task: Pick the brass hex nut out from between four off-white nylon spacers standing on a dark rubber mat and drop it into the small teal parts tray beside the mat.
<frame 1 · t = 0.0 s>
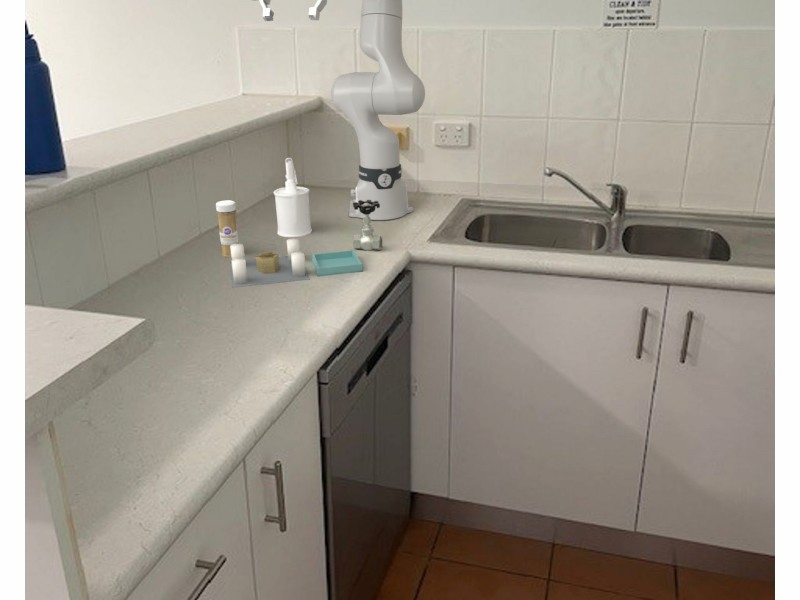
hand: (290, 19, 137), 54 cm above the worktop, tool tilted 30°, fingers open, 8 cm apart
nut: (268, 270, 166), resting on mat
spacer d: (240, 281, 160), resting on mat
sprinkles bottle: (231, 256, 177), on the worktop
spacer b: (299, 274, 163), resting on mat
tray: (336, 267, 168), on the worktop
white spouted canister: (295, 234, 193), on the worktop
spacer c: (239, 265, 169), resting on mat
mat: (268, 271, 166), on the worktop
valve: (368, 251, 179), on the worktop
spacer a: (294, 260, 172), resting on mat
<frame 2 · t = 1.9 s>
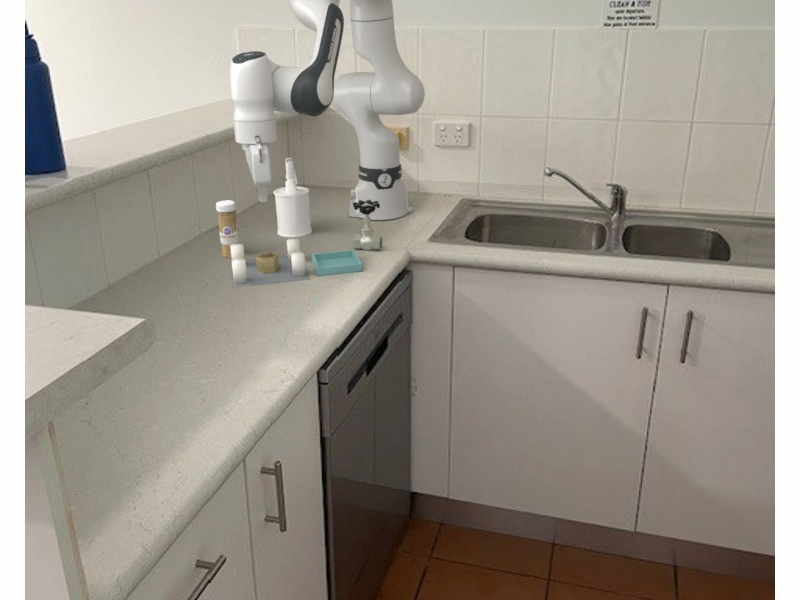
hand: (261, 196, 159), 18 cm above the worktop, tool pointing down, fingers open, 8 cm apart
nothing on the worktop moved.
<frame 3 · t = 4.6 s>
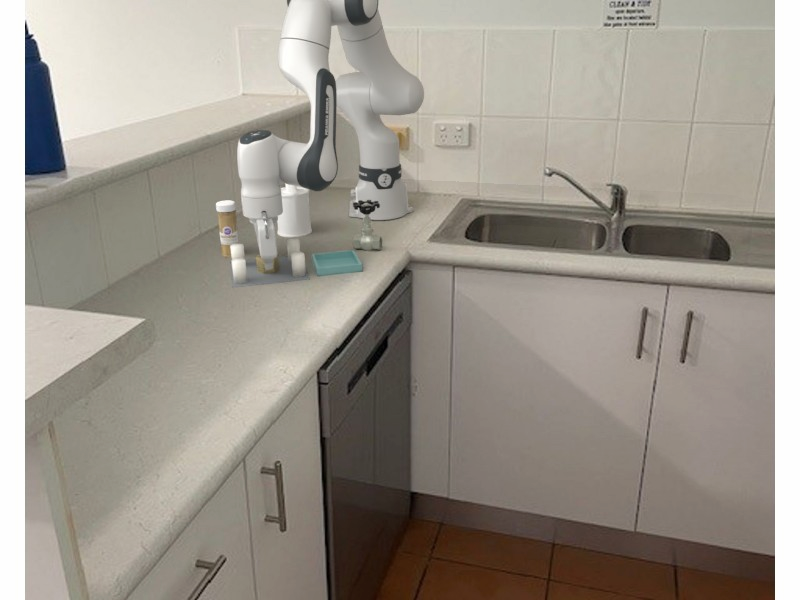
hand: (268, 264, 166), 2 cm above the worktop, tool pointing down, fingers closed on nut, 4 cm apart
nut: (268, 270, 166), resting on mat, touching gripper
everything else where it was.
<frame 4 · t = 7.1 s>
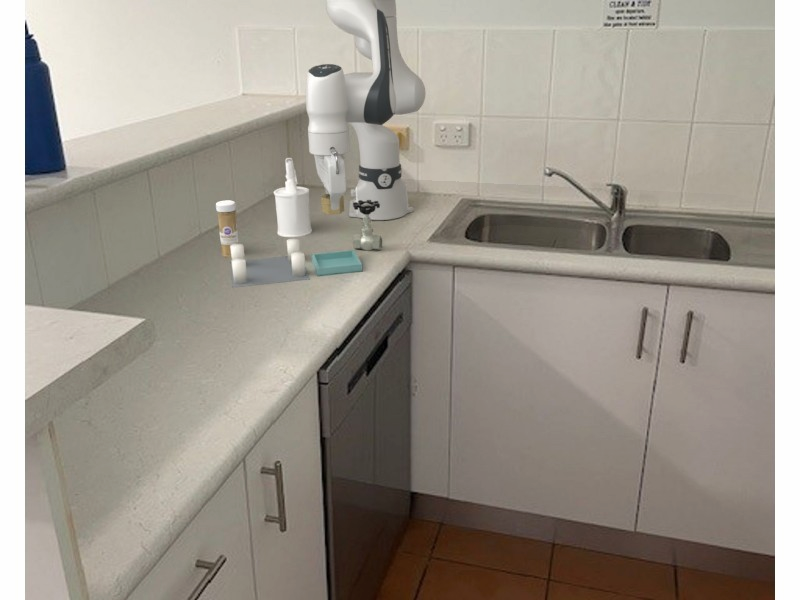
hand: (332, 205, 162), 15 cm above the worktop, tool pointing down, fingers closed on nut, 4 cm apart
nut: (333, 211, 163), point 13 cm above the worktop, touching gripper
everything else where it was.
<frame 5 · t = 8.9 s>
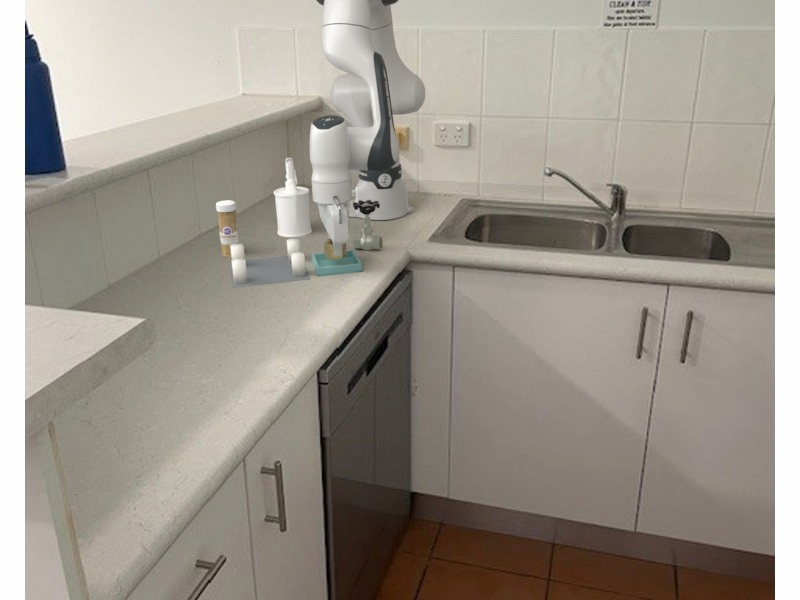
hand: (335, 250, 166), 4 cm above the worktop, tool pointing down, fingers closed on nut, 4 cm apart
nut: (335, 256, 167), point 3 cm above the worktop, touching gripper
everything else where it was.
when the fingers open (3 cm above the worktop, at t = 9.9 s): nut drops 1 cm, resting on tray.
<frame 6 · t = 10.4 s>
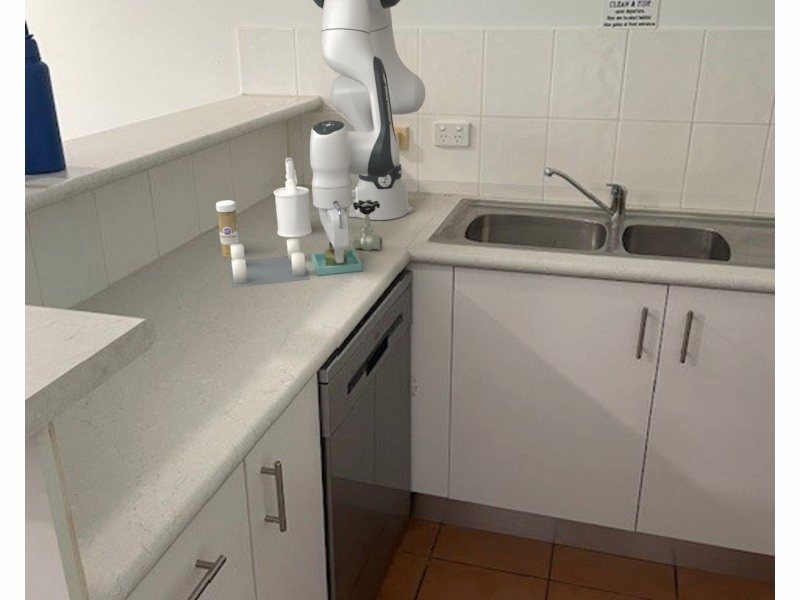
hand: (336, 254, 167), 3 cm above the worktop, tool pointing down, fingers open, 8 cm apart
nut: (336, 265, 168), point 1 cm above the worktop, touching tray
everything else where it was.
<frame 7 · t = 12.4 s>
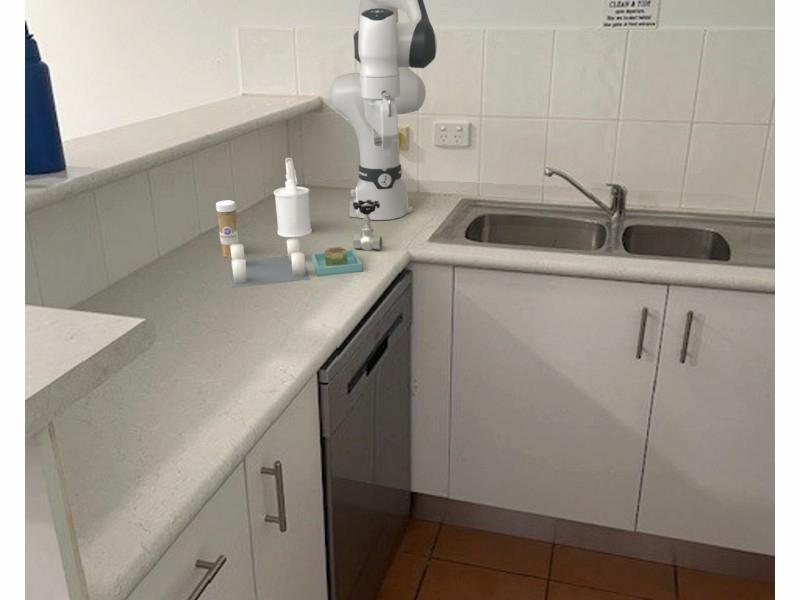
hand: (382, 150, 166), 25 cm above the worktop, tool pointing down, fingers open, 8 cm apart
nothing on the worktop moved.
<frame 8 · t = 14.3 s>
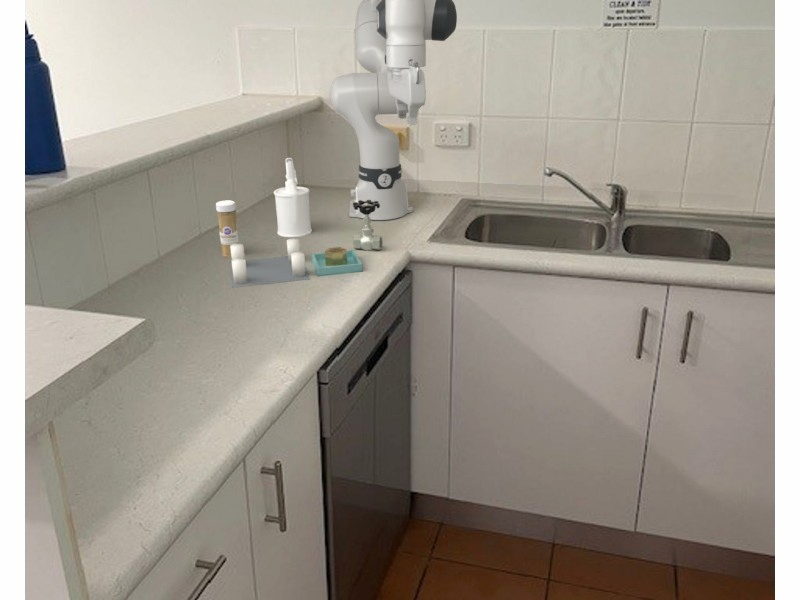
hand: (407, 121, 167), 31 cm above the worktop, tool pointing down, fingers open, 8 cm apart
nothing on the worktop moved.
at the end: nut inside the target area on the tray (0.0 cm from its centre), point 0.6 cm above the tray's base; the gripper is holding nothing; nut moved 15.6 cm from its start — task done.
